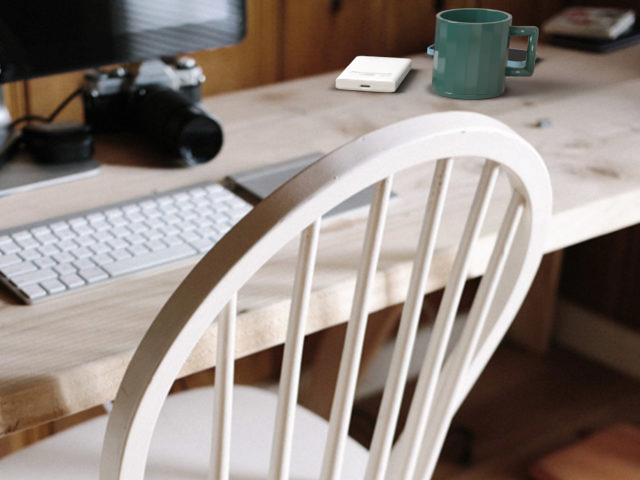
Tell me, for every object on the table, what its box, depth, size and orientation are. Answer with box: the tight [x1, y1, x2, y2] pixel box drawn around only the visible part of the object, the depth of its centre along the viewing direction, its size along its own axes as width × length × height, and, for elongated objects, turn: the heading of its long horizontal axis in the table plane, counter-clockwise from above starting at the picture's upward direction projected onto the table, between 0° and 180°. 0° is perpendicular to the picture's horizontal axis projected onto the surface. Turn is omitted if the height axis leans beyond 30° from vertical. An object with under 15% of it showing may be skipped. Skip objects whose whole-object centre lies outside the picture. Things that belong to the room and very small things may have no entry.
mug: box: [431, 7, 539, 100], centre depth 135 cm, size 13×10×10 cm
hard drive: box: [335, 55, 413, 93], centre depth 142 cm, size 2×8×12 cm
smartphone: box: [426, 44, 538, 67], centre depth 151 cm, size 7×1×15 cm
